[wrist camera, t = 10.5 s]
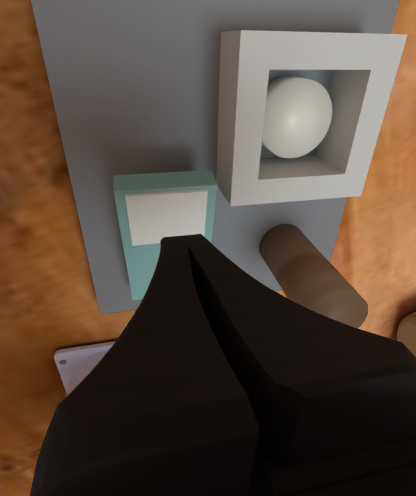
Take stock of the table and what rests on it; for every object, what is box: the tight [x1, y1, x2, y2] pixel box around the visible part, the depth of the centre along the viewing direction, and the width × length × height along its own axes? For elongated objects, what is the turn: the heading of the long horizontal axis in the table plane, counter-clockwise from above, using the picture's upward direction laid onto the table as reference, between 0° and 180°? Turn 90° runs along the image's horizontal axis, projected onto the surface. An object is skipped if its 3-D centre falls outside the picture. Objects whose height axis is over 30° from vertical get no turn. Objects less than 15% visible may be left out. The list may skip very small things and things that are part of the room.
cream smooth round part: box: [262, 76, 332, 158], centre depth 16 cm, size 4×4×2 cm
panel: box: [31, 0, 408, 315], centre depth 17 cm, size 18×16×4 cm
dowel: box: [259, 224, 368, 329], centre depth 18 cm, size 3×3×7 cm
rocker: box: [113, 170, 217, 300], centre depth 17 cm, size 8×4×1 cm, turn 0°
